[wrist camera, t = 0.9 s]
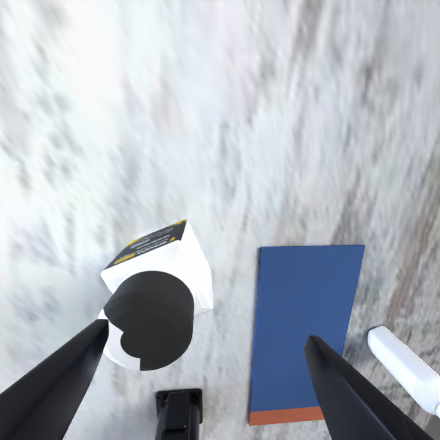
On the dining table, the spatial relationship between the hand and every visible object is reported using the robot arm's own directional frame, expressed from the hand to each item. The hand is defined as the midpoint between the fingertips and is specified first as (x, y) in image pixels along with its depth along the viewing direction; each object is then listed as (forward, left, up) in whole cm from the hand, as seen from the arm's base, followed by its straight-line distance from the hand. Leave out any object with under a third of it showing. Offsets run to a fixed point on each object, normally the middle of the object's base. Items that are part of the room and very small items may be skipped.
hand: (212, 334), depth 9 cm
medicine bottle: (-3, +4, -15) cm, 16 cm away
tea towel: (-17, -13, -15) cm, 26 cm away
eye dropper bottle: (-17, -25, -15) cm, 34 cm away
